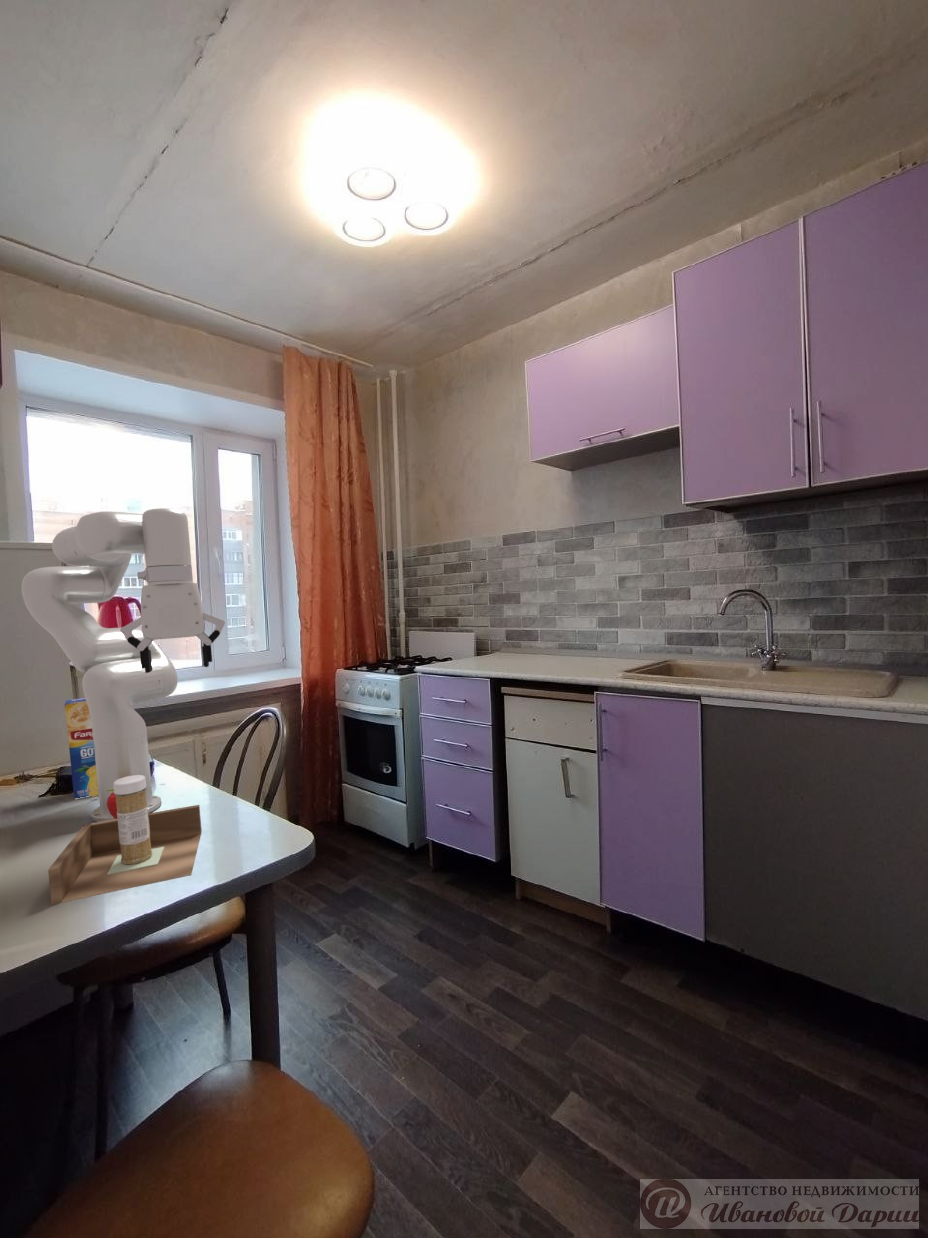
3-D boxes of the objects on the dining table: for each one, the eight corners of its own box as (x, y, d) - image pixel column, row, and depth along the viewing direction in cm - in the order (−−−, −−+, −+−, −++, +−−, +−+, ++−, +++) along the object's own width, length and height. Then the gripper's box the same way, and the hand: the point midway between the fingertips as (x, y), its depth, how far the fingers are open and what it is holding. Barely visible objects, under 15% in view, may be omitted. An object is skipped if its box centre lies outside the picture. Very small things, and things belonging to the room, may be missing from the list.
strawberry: (110, 839, 104) (105, 786, 104) (108, 827, 110) (103, 776, 110) (147, 830, 108) (142, 778, 107) (142, 818, 114) (138, 769, 113)
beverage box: (129, 788, 134) (121, 696, 133) (73, 800, 128) (64, 704, 127) (128, 781, 140) (120, 693, 139) (74, 792, 134) (65, 700, 133)
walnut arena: (87, 856, 97) (84, 824, 97) (201, 834, 103) (199, 804, 103) (51, 908, 80) (48, 869, 80) (191, 878, 87) (188, 842, 86)
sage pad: (117, 856, 95) (117, 855, 95) (164, 847, 97) (164, 846, 97) (107, 875, 88) (107, 873, 88) (157, 865, 91) (157, 863, 91)
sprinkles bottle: (151, 850, 96) (144, 772, 96) (153, 859, 92) (146, 778, 92) (119, 858, 94) (112, 778, 93) (121, 868, 90) (113, 785, 89)
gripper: (111, 578, 98) (120, 676, 99) (219, 573, 104) (227, 666, 105) (121, 580, 105) (129, 672, 106) (221, 575, 111) (229, 662, 112)
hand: (178, 669), depth 105 cm, fingers open, 9 cm apart
